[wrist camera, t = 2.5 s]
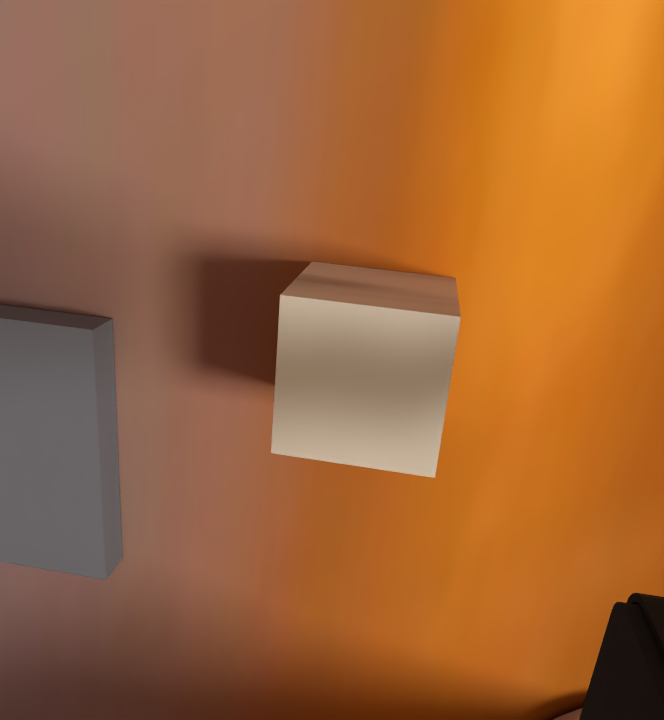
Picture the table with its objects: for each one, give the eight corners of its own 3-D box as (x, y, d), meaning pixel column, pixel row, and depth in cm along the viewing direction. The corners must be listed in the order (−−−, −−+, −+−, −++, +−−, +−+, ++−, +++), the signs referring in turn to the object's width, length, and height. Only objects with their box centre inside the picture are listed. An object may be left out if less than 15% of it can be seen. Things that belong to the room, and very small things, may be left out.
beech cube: (435, 409, 24) (434, 477, 19) (303, 391, 24) (271, 452, 19) (455, 277, 22) (460, 317, 17) (312, 260, 22) (280, 294, 18)
